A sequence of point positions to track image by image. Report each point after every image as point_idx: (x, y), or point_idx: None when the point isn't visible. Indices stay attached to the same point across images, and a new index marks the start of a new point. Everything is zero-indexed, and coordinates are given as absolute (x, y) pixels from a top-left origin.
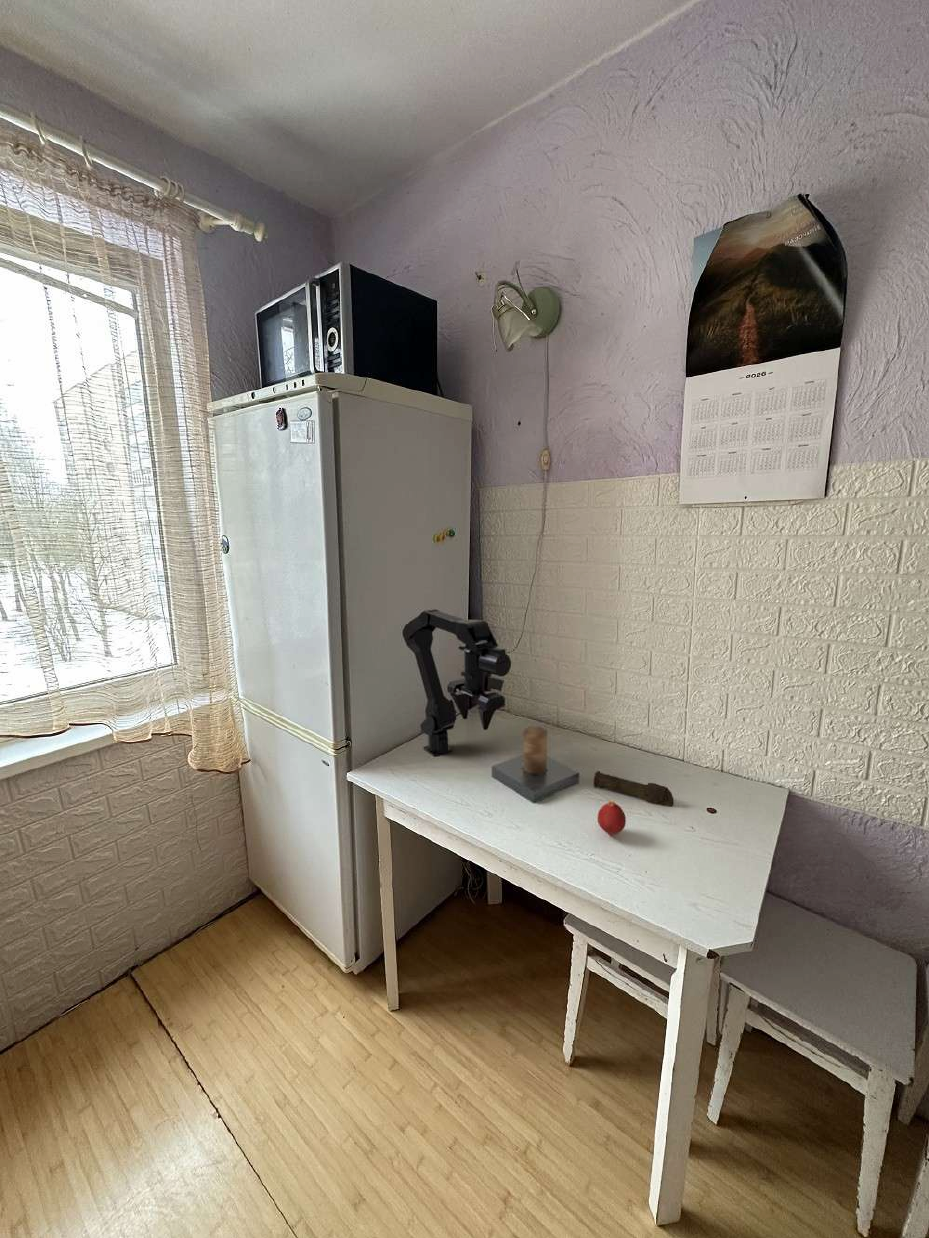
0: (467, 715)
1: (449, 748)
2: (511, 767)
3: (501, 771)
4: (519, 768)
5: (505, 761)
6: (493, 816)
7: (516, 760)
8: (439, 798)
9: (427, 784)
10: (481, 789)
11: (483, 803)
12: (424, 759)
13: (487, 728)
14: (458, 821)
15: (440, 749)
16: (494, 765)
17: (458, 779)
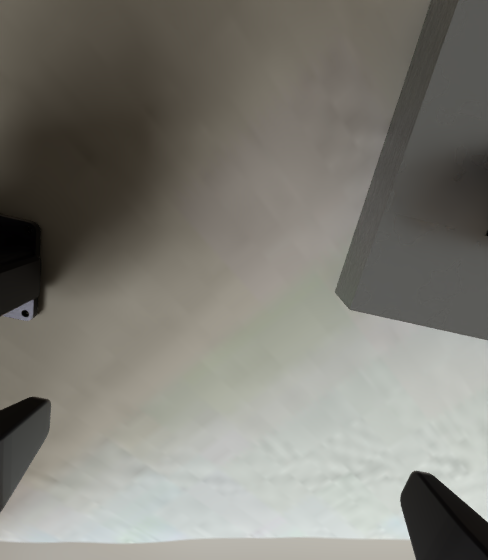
0: (25, 422)
1: (19, 229)
2: (437, 259)
3: (416, 321)
4: (478, 243)
5: (381, 228)
6: (472, 465)
7: (425, 178)
8: (282, 490)
9: (193, 462)
10: (357, 383)
11: (411, 437)
12: (32, 356)
13: (435, 483)
14: (399, 528)
15: (25, 303)
16: (357, 297)
17: (247, 383)
